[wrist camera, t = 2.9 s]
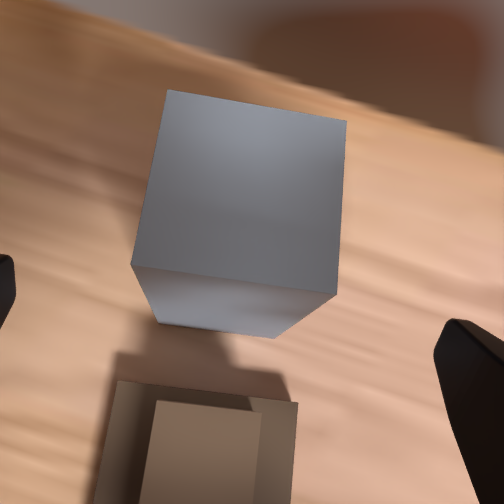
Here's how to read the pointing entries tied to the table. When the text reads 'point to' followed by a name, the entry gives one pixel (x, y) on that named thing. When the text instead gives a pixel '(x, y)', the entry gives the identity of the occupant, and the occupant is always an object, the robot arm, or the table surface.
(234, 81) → the table surface
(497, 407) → the robot arm
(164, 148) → the slate post
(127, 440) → the walnut ridge
